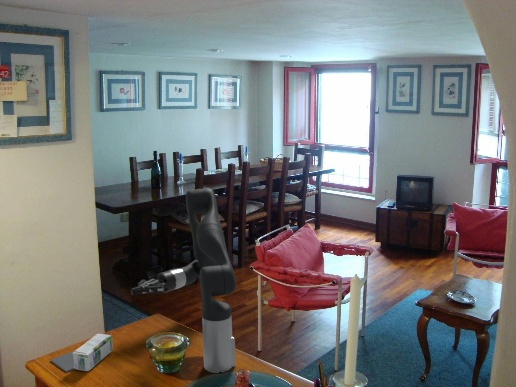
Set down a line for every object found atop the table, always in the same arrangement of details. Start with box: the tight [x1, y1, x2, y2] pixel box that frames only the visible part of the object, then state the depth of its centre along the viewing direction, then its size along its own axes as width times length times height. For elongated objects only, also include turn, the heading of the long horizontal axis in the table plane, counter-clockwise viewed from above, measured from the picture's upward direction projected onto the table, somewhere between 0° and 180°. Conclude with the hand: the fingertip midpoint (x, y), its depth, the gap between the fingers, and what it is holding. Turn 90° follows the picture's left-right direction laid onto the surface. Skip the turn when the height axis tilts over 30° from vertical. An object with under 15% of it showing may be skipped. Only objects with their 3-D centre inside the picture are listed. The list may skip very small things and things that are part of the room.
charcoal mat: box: [50, 349, 77, 373], centre depth 175 cm, size 13×11×1 cm
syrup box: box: [73, 333, 114, 372], centre depth 173 cm, size 6×6×14 cm
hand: (131, 292), depth 188 cm, fingers closed
